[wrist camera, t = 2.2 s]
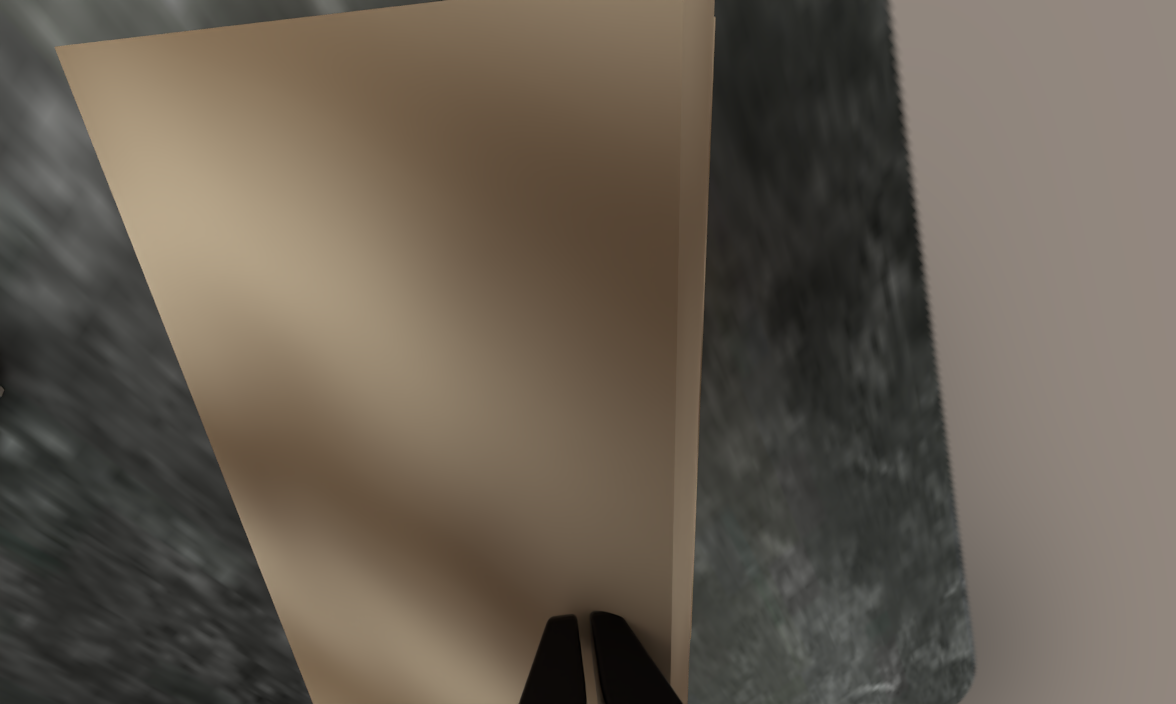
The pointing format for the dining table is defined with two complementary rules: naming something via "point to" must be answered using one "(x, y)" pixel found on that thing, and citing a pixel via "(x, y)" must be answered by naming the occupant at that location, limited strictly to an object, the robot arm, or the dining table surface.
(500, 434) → the box lid
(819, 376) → the dining table surface
